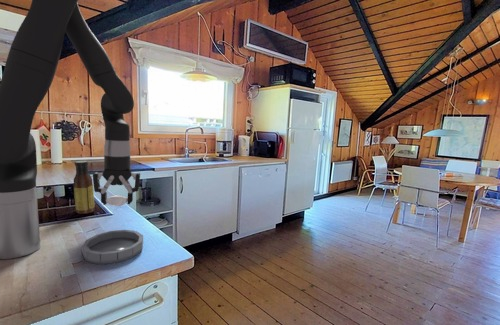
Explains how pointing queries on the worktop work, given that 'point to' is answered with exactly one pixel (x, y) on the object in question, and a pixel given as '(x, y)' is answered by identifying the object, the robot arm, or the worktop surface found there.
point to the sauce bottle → (83, 189)
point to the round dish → (112, 246)
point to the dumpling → (116, 200)
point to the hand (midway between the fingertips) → (117, 203)
